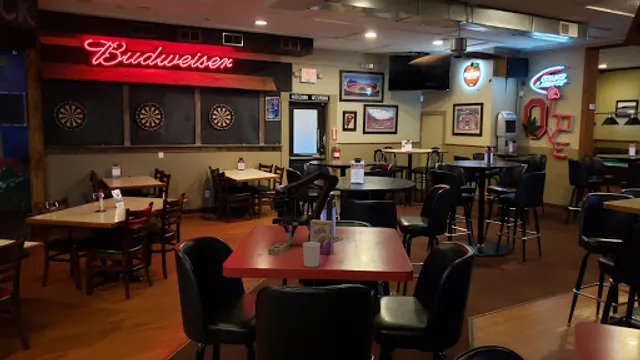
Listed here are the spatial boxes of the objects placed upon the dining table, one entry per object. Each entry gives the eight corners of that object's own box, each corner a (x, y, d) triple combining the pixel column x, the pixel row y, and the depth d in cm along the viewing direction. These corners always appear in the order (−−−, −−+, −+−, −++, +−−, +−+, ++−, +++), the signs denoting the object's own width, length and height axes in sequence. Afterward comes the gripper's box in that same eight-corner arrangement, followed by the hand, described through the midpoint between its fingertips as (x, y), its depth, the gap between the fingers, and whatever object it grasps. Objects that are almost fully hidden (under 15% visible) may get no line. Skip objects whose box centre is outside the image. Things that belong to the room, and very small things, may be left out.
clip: (294, 241, 260) (294, 230, 260) (289, 244, 253) (289, 233, 253) (290, 241, 261) (290, 230, 260) (286, 244, 254) (286, 233, 253)
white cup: (302, 263, 224) (302, 241, 223) (319, 262, 224) (319, 241, 223) (303, 267, 216) (303, 245, 215) (320, 267, 217) (320, 245, 216)
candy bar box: (309, 253, 241) (309, 221, 239) (312, 251, 246) (312, 219, 244) (330, 255, 237) (330, 222, 236) (333, 253, 242) (333, 220, 240)
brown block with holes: (289, 248, 250) (289, 243, 250) (279, 255, 237) (279, 249, 236) (278, 248, 252) (278, 242, 251) (268, 254, 238) (268, 248, 238)
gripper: (268, 210, 250) (268, 239, 251) (302, 211, 245) (302, 242, 247) (275, 206, 261) (275, 235, 262) (308, 208, 256) (308, 237, 257)
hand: (290, 237), depth 257 cm, fingers closed on clip, 2 cm apart
